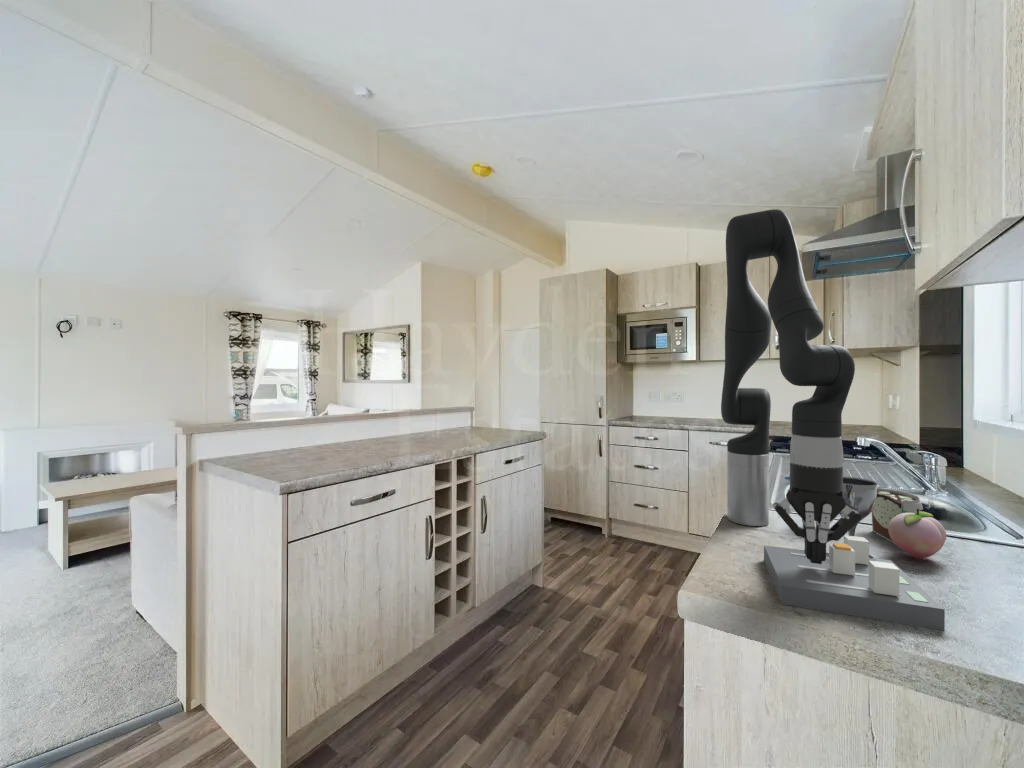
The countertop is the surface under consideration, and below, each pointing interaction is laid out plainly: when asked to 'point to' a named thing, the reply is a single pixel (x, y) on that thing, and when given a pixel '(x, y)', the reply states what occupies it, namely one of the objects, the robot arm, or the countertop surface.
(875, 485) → the wine glass
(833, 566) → the block
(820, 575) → the grey flat slab
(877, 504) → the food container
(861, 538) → the block
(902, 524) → the decorative fruit
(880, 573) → the breaker
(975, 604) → the countertop surface
